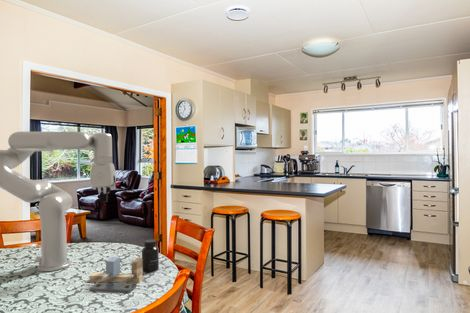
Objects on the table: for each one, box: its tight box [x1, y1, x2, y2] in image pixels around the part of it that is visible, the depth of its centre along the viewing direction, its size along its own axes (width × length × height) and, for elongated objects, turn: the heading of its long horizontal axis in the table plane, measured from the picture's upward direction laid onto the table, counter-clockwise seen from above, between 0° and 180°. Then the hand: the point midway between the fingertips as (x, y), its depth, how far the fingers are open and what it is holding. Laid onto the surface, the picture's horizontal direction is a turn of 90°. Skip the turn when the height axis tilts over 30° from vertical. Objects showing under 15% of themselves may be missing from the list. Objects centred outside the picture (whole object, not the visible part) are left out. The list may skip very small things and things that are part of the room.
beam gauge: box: [88, 257, 144, 284], centre depth 118 cm, size 20×10×8 cm, turn 82°
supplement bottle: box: [141, 239, 160, 273], centre depth 131 cm, size 7×7×12 cm
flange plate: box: [89, 282, 137, 294], centre depth 112 cm, size 15×5×1 cm, turn 82°
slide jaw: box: [101, 256, 121, 280], centre depth 118 cm, size 3×10×6 cm, turn 172°
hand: (104, 202), depth 140 cm, fingers closed
